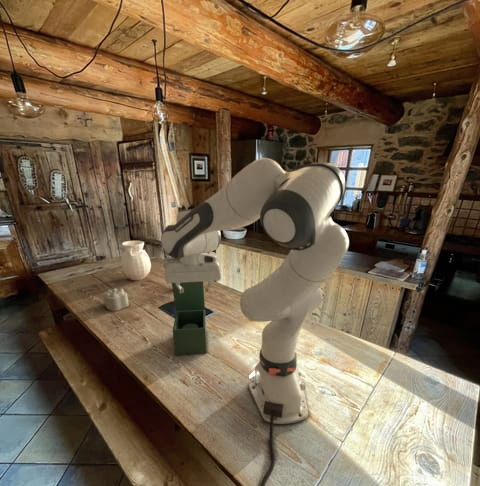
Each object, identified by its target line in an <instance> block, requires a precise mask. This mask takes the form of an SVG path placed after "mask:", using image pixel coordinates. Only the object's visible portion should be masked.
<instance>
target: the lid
mask: <svg viewBox="0 0 480 486" xmlns="http://www.w3.org/2000/svg"><path fill="white" fill-rule="evenodd" d="M171 286H172V294H173V300H174V307H175V312H176V311H192V310H206V307H205V306H206V303H205V285H204V281H202V282H182V283H180V286H181V287H184V293H180V291H179V289H178V288H177V286H176V283H171Z"/></svg>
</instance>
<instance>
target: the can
mask: <svg viewBox="0 0 480 486" xmlns="http://www.w3.org/2000/svg"><path fill="white" fill-rule="evenodd" d="M190 328H198V326H197V325H196V324H186V325H184V326H183V328H182V329H190Z"/></svg>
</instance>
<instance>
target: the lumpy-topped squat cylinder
mask: <svg viewBox="0 0 480 486" xmlns="http://www.w3.org/2000/svg"><path fill="white" fill-rule="evenodd" d="M128 297H129V296H128V293H127V292H126V291H125V290H124V289H123V288H111V289H108V290H106V291H105V292H103V299H104V304H105V307H106V309H107V310H109V311H112V312H118V311H120V310H122V309H125V308H128V307H129V305H130V303H129V298H128Z"/></svg>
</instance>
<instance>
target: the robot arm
mask: <svg viewBox="0 0 480 486" xmlns="http://www.w3.org/2000/svg"><path fill="white" fill-rule="evenodd" d="M345 190H346V180H345V176H344V174H343V172H342V170H341V169H340V168H339V167H338V166H337V165H335V164H333V163H330V162H325V161H324V162H323V161H322V162H321V161H320V162H315V163H308V164H299V165H298V164H297V165H295V166H294V167H293V168H292V170H291V172H290V171H286V170H284V169H283V168H282V166H281V165H280V164H279V163H278V162H277V161H276V160H274V159H271V158H268V157H261V158H257V159H255V160H254V161H252V162H250V163H249V164H247V165H246V166H245V167H243V168H242V169H241V170H240V171H238V172H237V173H236V174H235V175H234V176H233V177H232V178H230V180H229V181H228V182H227V183H226V184H225V185H224V186H223V187H222V188H221V189H219V190H218V191H217V192H215V193H214V194H213V195H211V196H210V197H209V198H207V199H206V200H205V201H203V202H201V203H200V204H198V205H197V206H195V207H194V208H189V209H182V210H179V211H178V212H177V213H176V223H175V224H168V225H167V226H166V227H165V228H164V229H163V231H162V233H161V237H160V244H161V247H162V250H163V252H164V253H165V254H166V255H168V257H166V258H164V259H163V260H162V267H163V269H164V281H165V282H166V283H167V284H172V283H176V286H177V288H178V289H179V291H180V293H184V287H181V286H180V283H182V282H202V281H203V282H207V285H206V286H205V285H204V293H210V288H211V286H212V284H213V282H219V281H221V280H222V273H221V271H222V270H221V267H220V262H219V261H218V255H217V253H216V252H214V251H216V250H217V249H218V248H219V247H220V244H221V241H222V234H221V231H229V230H236V229H240V228H241V229H242V228H244V227H247V226H249V225H251V224H253V223H255V222H257V221H258V220H259V221H260V225H261V227H262V229H263V231H264V233H265V234H266V235H267V237H269V239H270V240H272V241H273V242H275V243H276V244H278V245H280V246H282V247H284V248H287V249H289V252H288V253H287V256H286V257H285V258H284V260H283V261H282V262H281V264H280V265H279V267H278V268H277V269H275V270H274V271H273V272H272V273H270V274H269V275H268V276H266V277H265V278H263V280H261V281H260V282H258V283H257V284H254V285H253V286H250V287H248V288H246V289H245V290H244V291H243V292H242V294H241V297H240V301H239V306H240V310H241V313H242V315H243V316H244V317H245V318H246V319H247V320H248V321H249V322H253V323H264V322H265V323H267V324H266V325H265V326H264V328H263V329H262V332H261V346H260V350H259V356H258V357H259V359H258V360H259V361H258V363H257V364H256V365H255V366H254V371H253V372H252V373H250V374H249V379H251V378H252V377H253V381H251V382H250V383H249V384H248V389H249V392H250V394H251V396H252V398H253V400H254V402H255V405H256V406H257V408H258V410H259V412H260V414H261V416H262V418H263V420H264V421H265V422H268V423H269V447H270V454H271V460H270V465H269V468H268V470H267V471H266V473H265V475H264V477H263V478H262V480H261V483H260V486H266V484H267V481H268V479H269V477H270V476H271V474H272V472H273V470H274V467H275V464H276V452H275V446H274V437H273V435H274V434H273V433H274V424H275V425H286V424H294V423H298V422H301V421H303V420H305V419H306V418H308V417H309V410H308V405H307V400H306V399H307V398H306V396H305V395H306V394H305V391H306V384H305V382H303V380H302V379H301V378H300V377H302V372H301V371H298V370H299V369H298V363H297V362H298V359H297V343H298V339H299V334H300V332H301V330H302V328H303V326H304V324H305V323H306V321H307V320H308V319H309V318H310V316H311V315H312V314H313V313H314V312H315V311H316V310H317V309H319V308H320V306H321V304H322V302H323V291H322V288H321V286H322V285H323V284H324V283H325V282H326V281H327V280H328V279H329V278H330V277H331V276H332V274H333V273H334V272H335V271H336V270H337V268H338V267H339V266H340V264H341V263H342V261H343V259H344V257H345V256H346V254H347V252H348V250H349V247H350V239H349V234H348V233H347V232H346V230H345V229H344V228H343V227H342V226H341V225H339V224H338V223H336V222H334V221H333V219H332V216H330V215H331V214H332V213H333V211H334V210H335V208H336V207H338V206H339V204H340V202H341V201H342V199H343V197H344V194H345Z"/></svg>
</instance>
